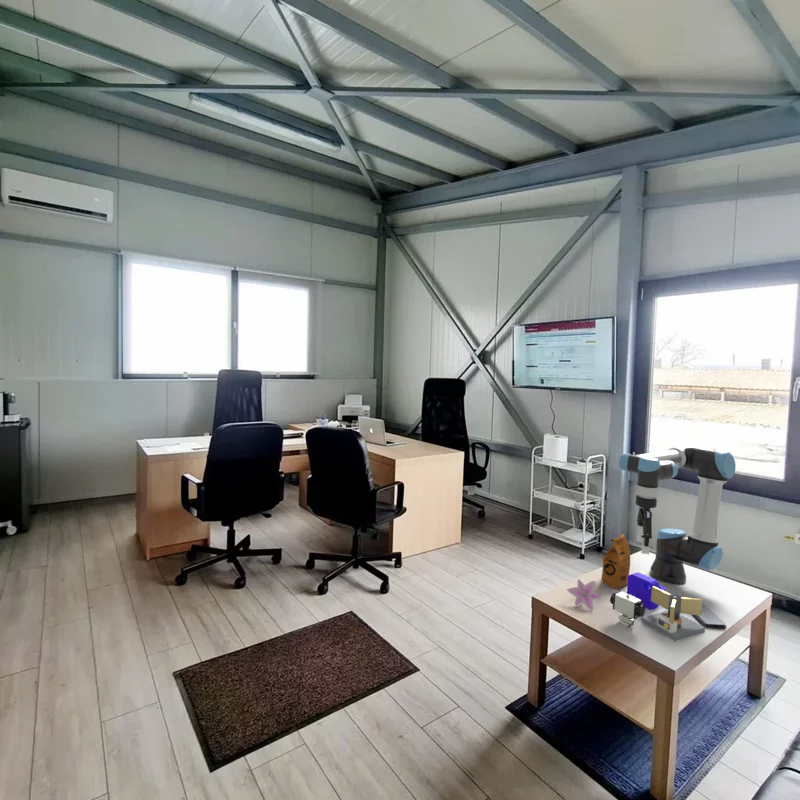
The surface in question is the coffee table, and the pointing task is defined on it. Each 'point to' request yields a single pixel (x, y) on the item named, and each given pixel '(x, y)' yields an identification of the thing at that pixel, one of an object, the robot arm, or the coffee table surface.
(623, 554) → the coffee package
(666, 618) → the level stand
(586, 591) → the lily
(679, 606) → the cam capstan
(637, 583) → the bracket
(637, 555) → the coffee table surface
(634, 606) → the pneumatic valve
